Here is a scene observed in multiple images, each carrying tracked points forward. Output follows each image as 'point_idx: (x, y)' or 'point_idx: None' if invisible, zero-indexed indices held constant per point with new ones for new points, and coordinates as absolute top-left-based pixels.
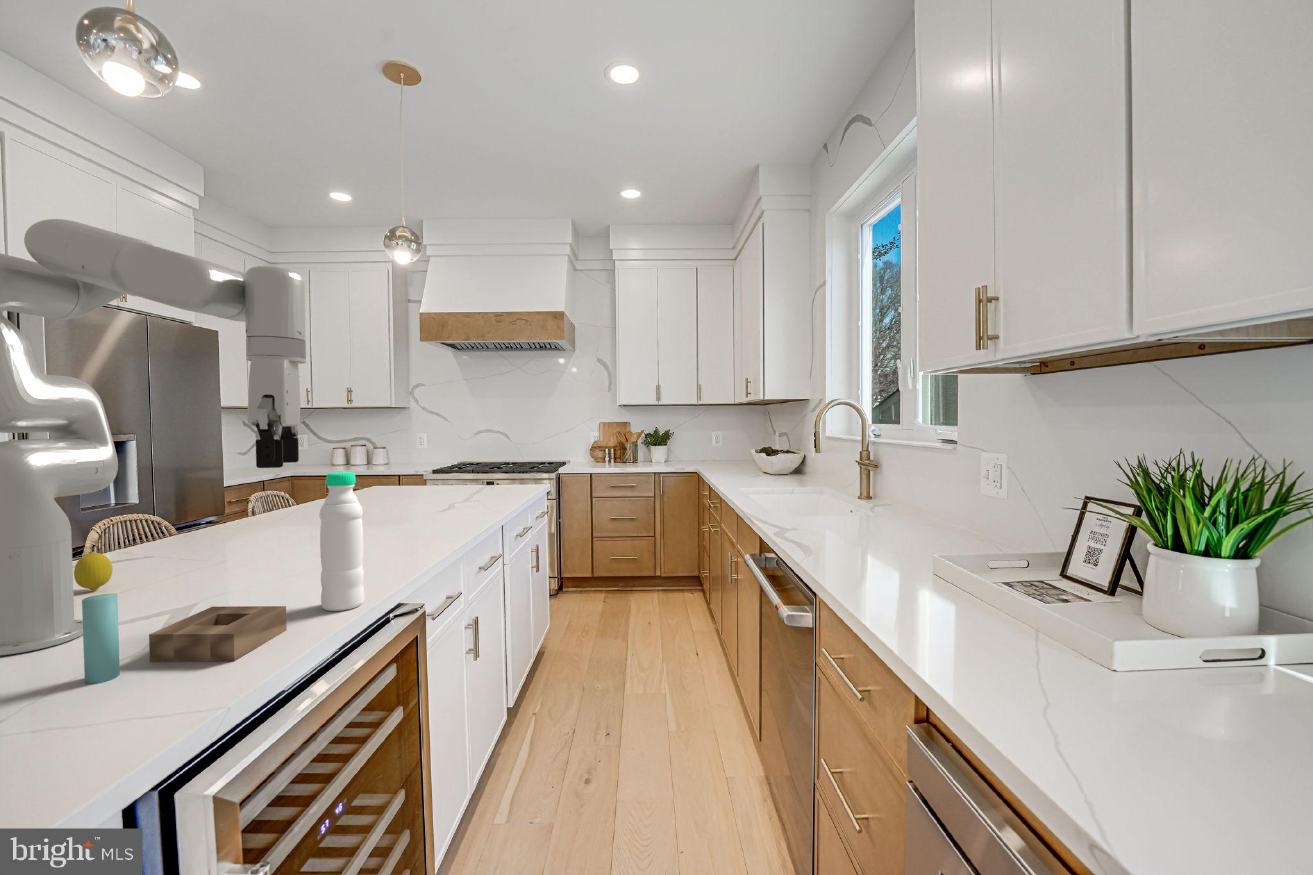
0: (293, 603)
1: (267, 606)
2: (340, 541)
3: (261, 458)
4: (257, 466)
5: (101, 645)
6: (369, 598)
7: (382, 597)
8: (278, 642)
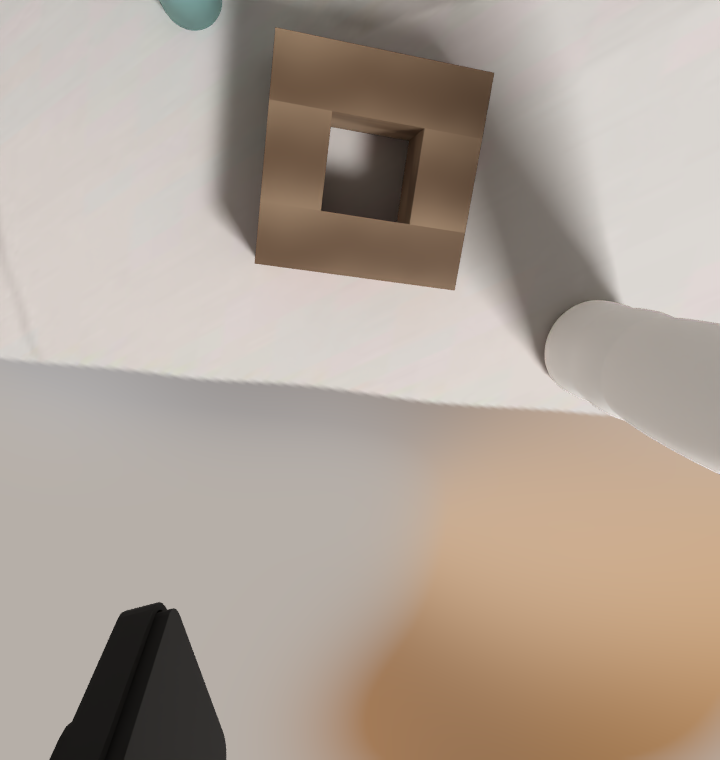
0: (643, 206)
1: (461, 240)
2: (662, 419)
3: (58, 741)
4: (127, 617)
5: None
6: None
7: None
8: (358, 303)
